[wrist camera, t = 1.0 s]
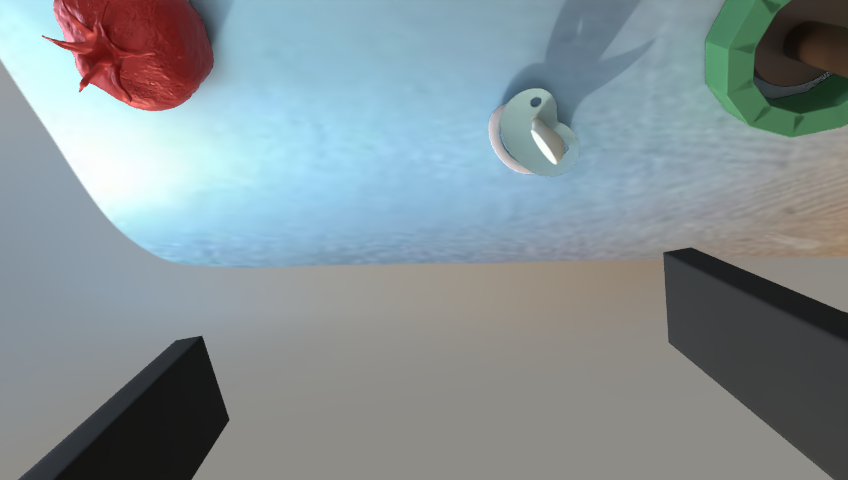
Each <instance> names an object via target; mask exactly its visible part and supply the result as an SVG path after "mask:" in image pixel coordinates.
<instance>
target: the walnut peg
mask: <svg viewBox="0 0 848 480" xmlns="http://www.w3.org/2000/svg"><path fill="white" fill-rule="evenodd" d="M827 71H828V72H831V73H834V74H837V75H840V76H843V77H846V78H848V0H791V1H790V2H788V3H787V4H786V5H784V6H783V7H782V8H781V9H779V10H778V11H777V13H776V15H775V16H774V18H773V20H772V21H771V23H770V25H769V26H768V28H767V30H766V31H765V33H764V35H763V36H762V38H761V40H760V41H759V43H758V45H757V46H756V48H755V61H754V75H756V76H757V77H758V78H760V79H761V80H763V81H765V82H768V83H770V84H773V85H776V86H784V87H788V86H796V85H801V84H804V83H807V82H809V81H812V80H814V79H816V78H818V77H820V76H821V75H823V74H824V73H826V72H827Z"/></svg>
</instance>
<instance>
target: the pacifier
mask: <svg viewBox="0 0 848 480" xmlns="http://www.w3.org/2000/svg"><path fill="white" fill-rule="evenodd" d="M535 97H539V98H541V103H540V104H539V105H538V106H532V105H531V104H530V101H531V100H532V99H533V98H535ZM499 127H500V130H501V135H502V137H503V140H504V143H505V144H506V146H507V148H508V150H509V151H510V153H511V154H512V155H513V156H512V155H511V154H510V153H509V152H508V151H507V149H506V148H505V146H504V145H503V143H502V140H501V137H500V133H499ZM488 129H489V138H490V141H491V144H492V146H493V148H494V150H495V152H496V154H497V155H498V156H499V158H500V159H501V160H502V161H503V162H504V163H505V164H506V165H507V166H509V167H510V168H511V169H513V170H515V171H517V172H520V173H524V174H533V173H534V174H537V175H539V176H551V177H552V176H558V175H562V174H564V173H566V172H567V171H569V170H570V169H571V168H572V167H573V166H574V165H575V163H576V161H577V159H578V156H579V143H578V140H577V138H576V136H575V134H574V133H573V131H572V130H571V129H570V128H569V127H567V126H566V125H564V124H562V123H560V122H559V121H558V120H557V105H556V101H555V99H554V97H553V96H552V95H551V94H550V93H549V92H548V91H546V90H544V89H542V88H529V89H526V90H523V91H521V92H519V93H518V94H516V95H515V96H514V97H513V98H512V99H510V101H509V102H508V103H507V104H505V105H502V106H500V107H498V108H497V109H496V110H495V111H494V112H493V114H492V116H491V118H490V120H489V127H488ZM563 142H565V143H567V144H568V145H569V148H568V151H566V152H564V151H565V148H564V143H563Z"/></svg>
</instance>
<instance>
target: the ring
mask: <svg viewBox="0 0 848 480" xmlns="http://www.w3.org/2000/svg"><path fill="white" fill-rule="evenodd" d="M790 1H791V0H726V2H725V4H724V6H723V8H722V9H721V11H720V13H719V15H718V17H717V19H716V21H715V22H714V24H713V26H712V28H711V30H710V32H709V34H708V36H707V37H706V41H705V83H706V85H707V86H708V87H709V88H710V90H711V91H712V92H713V94H714V95H715V96H716V98H717V99H718V100H719V102H720V103H721V104H722V106H723V107H724V108H725V110H726V111H727V112H729V113H730V114H732V115H733V116H735V117H736V118H738V119H739V120H741V121H742V122H744V123H745V124H747V125H748V126H750V127H754V128H757V129H761V130H765V131H768V132H772V133H776V134H779V135H783V136H787V137H796V136H801V135H806V134H811V133H816V132H820V131H825V130H830V129H835V128H839V127H842V126H845V125H846V124H848V78H846V77H843V76H840V75H837V74H833V75H831V76H830V77H828V78H827V79H825V80H824V81H823V82H821V83H820V84H818V85H817V86H815V87H814V88H812V89H811V90H809V91H808V92H805V93H800V94H796V95H792V96H787V97H783V98H779V99H774V100H772V99H769V98H765V97H764V96H763V95H762V93H761V92H760V90H759V89H758V88H757V86H756V85H755V83H754V82H753V78H754V61H755V48H756V46H757V45H758V43H759V41H760V40H761V38H762V36H763V35H764V33H765V31H766V30H767V28H768V26H769V25H770V23H771V21H772V20H773V18H774V16H775V15H776V13H777V11H778V10H779V9H781V8H782V7H783V6H784V5H786V4H787V3H788V2H790Z"/></svg>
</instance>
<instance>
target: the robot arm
mask: <svg viewBox="0 0 848 480" xmlns="http://www.w3.org/2000/svg"><path fill="white" fill-rule="evenodd" d="M663 255H664V271H665V288H666V305H667V320H668V321H667V322H668V338H669V343H670V344H671V345H673V346H674V347H675V348H676V349H678V350H679V351H680V352H681V353H682V354H683V355H685V356H686V357H687V358H688V359H689V360H691V361H692V362H693V363H694V364H695V365H697V366H698V367H699V368H701V369H702V370H703V371H704V372H705V373H706V374H707V375H709V376H710V377H711V378H713V379H714V380H715V381H716V382H717V383H718V384H720V385H721V386H722V387H723V388H724V389H726V390H727V391H728V392H729V393H730V394H732V395H733V396H734V397H735V398H736V399H738V400H739V401H740V402H741V403H742V404H744V405H745V406H746V407H747V408H748V409H750V410H751V411H752V412H753V413H754V414H756V415H757V416H758V417H759V418H760V419H762V420H763V421H764V422H765V423H767V424H768V425H769V426H770V427H771V428H773V429H774V430H775V431H776V432H777V433H779V434H780V435H781V436H782V437H783V438H785V439H786V440H787V441H788V442H789V443H791V444H792V445H793V446H794V447H795V448H797V449H798V450H799V451H800V452H801V453H803V454H804V455H805V456H806V457H807V458H809V459H810V460H811V461H813V463H815V464H816V465H817V466H818V467H820V468H821V469H822V470H823V471H824V472H826V473H827V474H828V475H829V476H830V477H832V478H833V479H834V480H848V313H846V312H842V311H840V310H838V309H835V308H833V307H831V306H828V305H826V304H823V303H821V302H819V301H817V300H814V299H812V298H809V297H807V296H805V295H802V294H800V293H798V292H795V291H793V290H790V289H788V288H786V287H783V286H781V285H779V284H776V283H773V282H771V281H769V280H767V279H764V278H762V277H759V276H757V275H755V274H752V273H750V272H748V271H745V270H743V269H741V268H738V267H736V266H733V265H731V264H729V263H726V262H724V261H722V260H719V259H717V258H715V257H712V256H710V255H707V254H705V253H703V252H700V251H698V250H696V249H693V248H685V249H680V250H674V251H669V252H663ZM228 421H229V417H228V414H227V411H226V408H225V405H224V402H223V399H222V395H221V392H220V389H219V386H218V383H217V380H216V377H215V374H214V371H213V368H212V365H211V362H210V359H209V355H208V352H207V349H206V346H205V343H204V340H203V337H202V336H198V337H193V338H188V339H182V340H176V341H175V342H174V343H173V344H171V345H170V346H169V347H168V348H167V349H166V350H165V351H163V352H162V353H161V354H160V355H159V356H158V357H157V358H156V359H155V360H153V361H152V362H151V363H150V364H149V365H148V366H146V367H145V368H144V369H143V370H142V371H141V372H140V373H139V374H137V375H136V376H135V377H134V378H133V379H132V380H131V381H129V382H128V383H127V384H126V385H125V386H124V387H123V388H122V389H120V390H119V391H118V392H117V393H116V394H115V395H114V396H113V397H112V398H110V399H109V400H108V401H107V402H106V403H105V404H103V405H102V406H101V407H100V408H99V409H98V410H97V411H96V412H94V413H93V414H92V415H91V416H90V417H89V418H88V419H87V420H85V421H84V422H83V423H82V424H81V425H80V426H79V427H77V428H76V429H75V430H74V431H73V432H72V433H71V434H69V435H68V436H67V437H66V438H65V439H64V440H63V441H62V442H60V443H59V444H58V445H57V446H56V447H55V448H54V449H53V450H51V451H50V452H49V453H48V454H47V455H46V456H45V457H44V458H42V459H41V460H40V461H39V462H38V463H37V464H36V465H34V466H33V467H32V468H31V469H30V470H29V471H28V472H26V473H25V474H24V475H23V476H22V477H21V478H20V479H19V480H191V479H192V478H193V476H194V475H195V473H196V471H197V470H198V468H199V467H200V465H201V464H202V462H203V460H204V459H205V457H206V456H207V454H208V453H209V451H210V450H211V448H212V446H213V445H214V443H215V442H216V440H217V439H218V437H219V435H220V434H221V432H222V431H223V429H224V428H225V426H226V424H227V423H228Z"/></svg>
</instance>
